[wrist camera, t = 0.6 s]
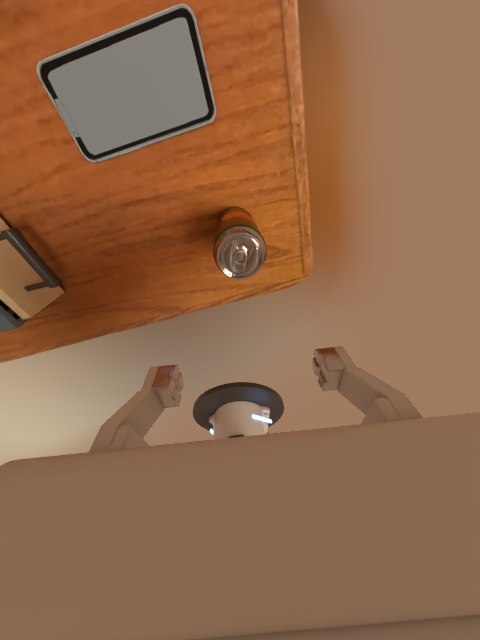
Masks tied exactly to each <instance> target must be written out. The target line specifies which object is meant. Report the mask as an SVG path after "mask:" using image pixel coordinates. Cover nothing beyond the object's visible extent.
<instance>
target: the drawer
mask: <svg viewBox="0 0 480 640" xmlns="http://www.w3.org/2000/svg"><path fill="white" fill-rule="evenodd" d="M61 284H62V282H61V281H60V280H59V279H58V277H57V276H56V275H55V274H54V273H53V271H52V270H51V269H50V268H49V267H48V265H47V264H46V263H45V262H44V261H43V259H42V258H41V257H40V256H39V255H38V253H37V252H36V251H35V250H34V249H33V248H32V246H31V245H30V244H29V243H28V242H27V240H26V239H25V238H24V237H23V236H22V234H21V233H20V232H19V231H18V230H17V228H11V229H10V228H9V227H8V225H7V224H6V223H5V222H4V221H3V220H2V218H1V217H0V305H1V306H2V307H3V308H4V309H5V310H6V311H7V312H9V313H10V314H11V315H13V314H15V313H16V314H17V315H18V316H20V317H21V318H22V319H28V318H31V317H33V316H34V315H35V314H37V313H38V312H39V311H41V310H42V309H43V308H44V307H46V306H47V305H48V304H50V303H51V302H52V301H54V300H55V299H56V298H58V297H59V296H60V295H62V294H63V293H64V291H63V290H62V288H61V287H60V286H59V285H61Z"/></svg>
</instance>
